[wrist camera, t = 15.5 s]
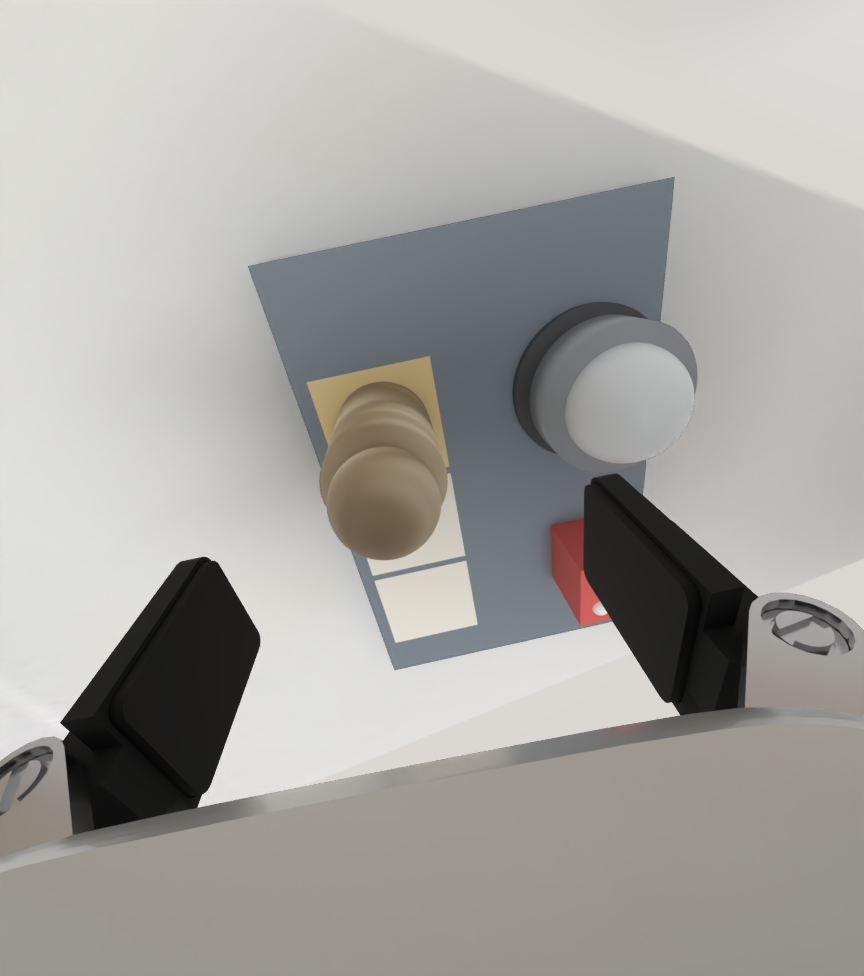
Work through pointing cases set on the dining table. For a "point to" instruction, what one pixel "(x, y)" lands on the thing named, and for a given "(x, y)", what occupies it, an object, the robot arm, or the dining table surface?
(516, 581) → the board
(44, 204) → the dining table surface
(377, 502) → the pawn
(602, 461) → the dome
